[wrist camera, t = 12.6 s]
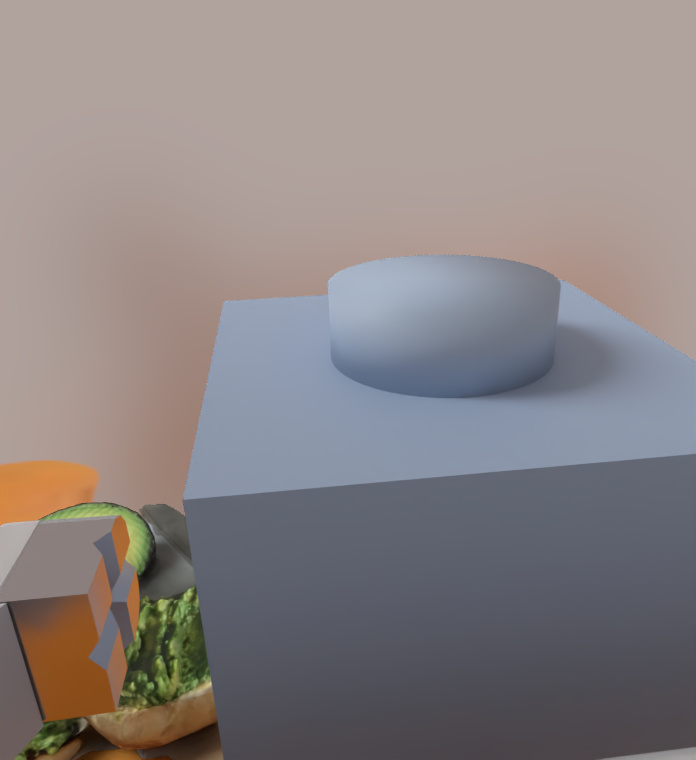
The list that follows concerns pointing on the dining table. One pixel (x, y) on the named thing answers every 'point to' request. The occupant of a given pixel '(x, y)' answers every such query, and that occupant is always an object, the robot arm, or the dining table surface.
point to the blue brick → (445, 521)
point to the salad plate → (149, 655)
